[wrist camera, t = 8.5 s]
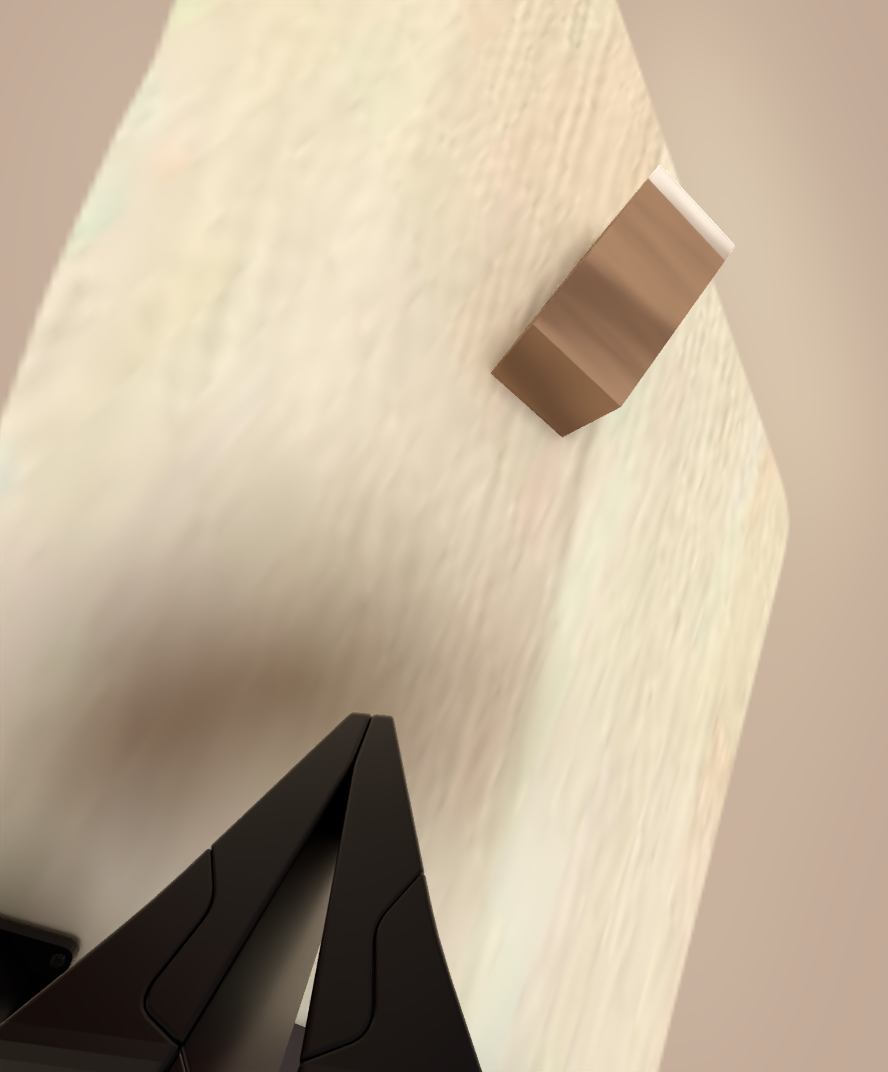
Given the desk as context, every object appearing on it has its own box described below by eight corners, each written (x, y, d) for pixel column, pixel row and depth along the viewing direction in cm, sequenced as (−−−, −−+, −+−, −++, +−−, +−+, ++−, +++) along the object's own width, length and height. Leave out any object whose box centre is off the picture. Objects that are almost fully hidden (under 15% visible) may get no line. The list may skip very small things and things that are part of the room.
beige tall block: (620, 406, 18) (735, 245, 20) (532, 323, 18) (659, 163, 19) (561, 437, 23) (658, 305, 25) (490, 373, 23) (595, 241, 24)
